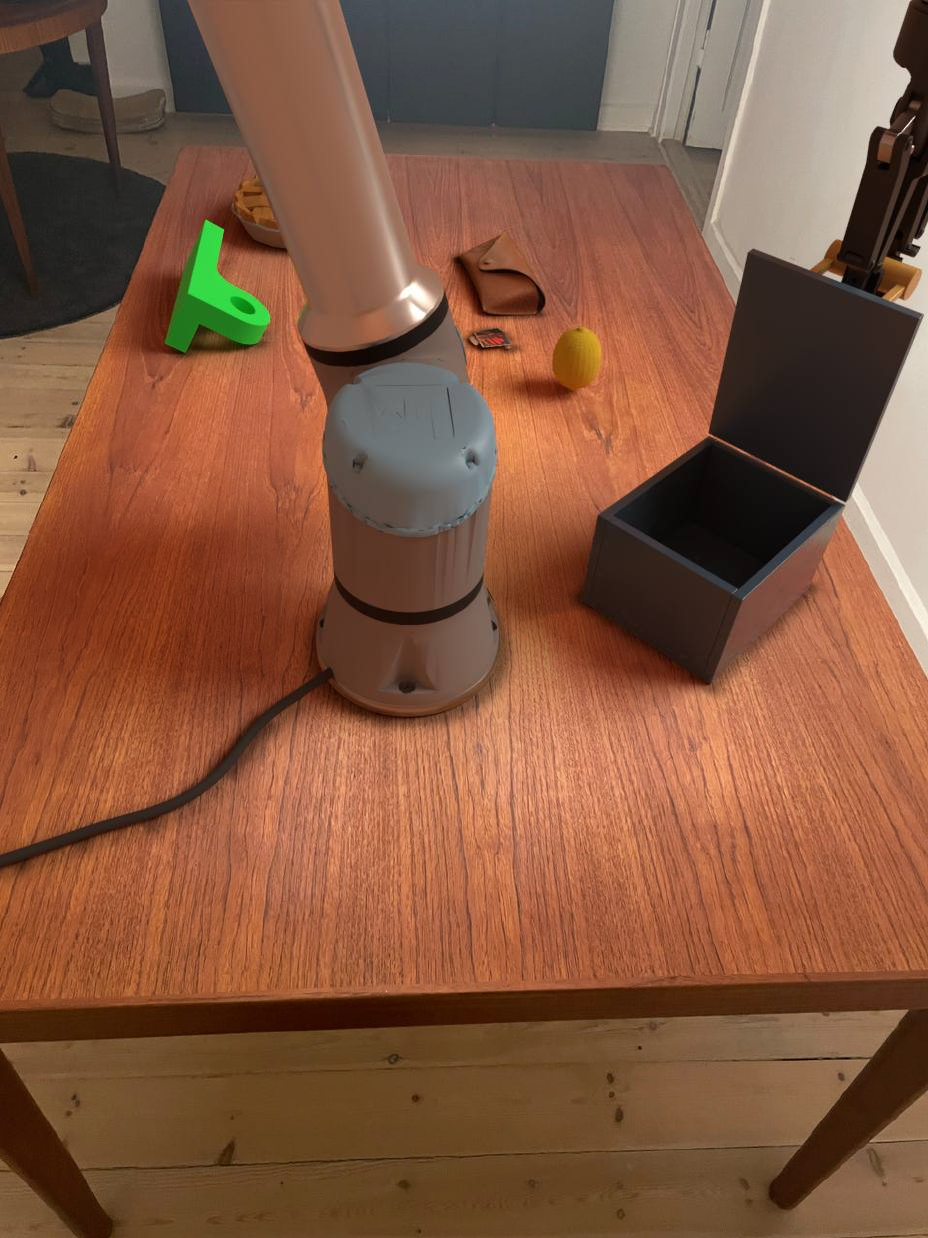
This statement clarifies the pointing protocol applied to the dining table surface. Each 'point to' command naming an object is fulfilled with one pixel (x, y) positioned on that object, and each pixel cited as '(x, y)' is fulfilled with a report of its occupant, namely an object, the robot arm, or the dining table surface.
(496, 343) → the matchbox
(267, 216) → the pie
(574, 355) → the lemon
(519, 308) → the sunglasses case
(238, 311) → the green corner bracket
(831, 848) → the dining table surface
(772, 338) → the tin lid
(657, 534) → the tin
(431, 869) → the dining table surface
